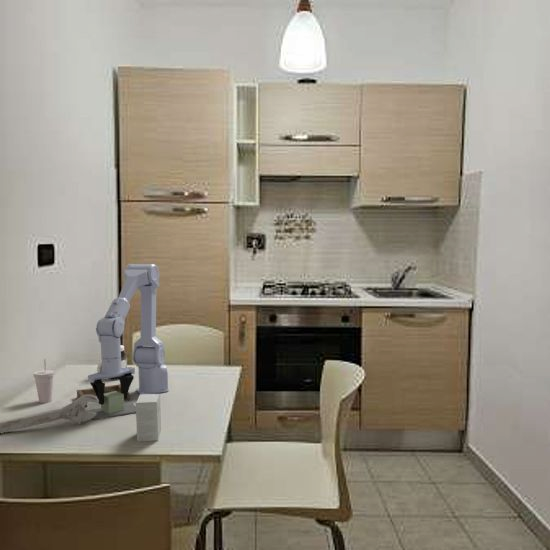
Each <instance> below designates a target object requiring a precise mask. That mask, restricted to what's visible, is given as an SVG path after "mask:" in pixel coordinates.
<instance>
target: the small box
mask: <svg viewBox="0 0 550 550" xmlns="http://www.w3.org/2000/svg"><path fill="white" fill-rule="evenodd" d="M135 406H136V413H135V420H136V441H137V443H138V442H139V443H140V442H157V441H159V437H160V434H161V432H162V419H161V418H162V414H161V413H162V410H161V394H160V393H154V394H140V393H139V396H138V398H137V399H136V402H135Z"/></svg>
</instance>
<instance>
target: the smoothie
mask: <svg viewBox="0 0 550 550" xmlns="http://www.w3.org/2000/svg"><path fill="white" fill-rule="evenodd" d="M43 367H44V369H43V370H37V371H35V372H33V378H34V381H35V384H36V392H37V396H38V397H37V398H38V403H40V404H47V403H48V404H49V403H50V402H52V401H53V400H52V399H53V398H52V397H53V387H54V376H55V370H53V369H47V359H46V358H43Z"/></svg>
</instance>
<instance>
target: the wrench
mask: <svg viewBox="0 0 550 550" xmlns="http://www.w3.org/2000/svg"><path fill="white" fill-rule="evenodd" d="M89 403H94V404H99V400H98V398H97V396H94V395H90V394H86V395H83V396H81V397H80V398H77V399H75V400H74V401H72V402H71V403H69V404H67V405H65V406H63V407H61V408H58V409H54V410H49V411H45V412H40V413H36V414H35V413H34V414H28V415H26V416H25V415H24V416H19V417H16V418H10V419H7V420H6V419H5V420H2V421H0V433H1V434H5V433H8V432H9V433H10V432H12V431H18V430H22V429H25V428H30V427H34V426H39V425H43V424H47V423H52V422H57V421H60V420H66V421H67V420H68V421H72V422H74V425H81V424H82V422H86V421H87V422H88V421H89V420H92V419H91V418H93V417H95V416H96V414H97V413H96V412H91V411H87V410H86V407H85V406H86V404H87V405H88V404H89ZM4 432H5V433H4Z"/></svg>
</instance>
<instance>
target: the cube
mask: <svg viewBox="0 0 550 550" xmlns="http://www.w3.org/2000/svg"><path fill="white" fill-rule="evenodd" d="M124 405H125V400H124V394H122V393H119V392H117V391H114V392H109V393H105V394H104V404H103V405H101V404H100V408H101V411H104V412H106V413H108V414H111V413H115V412H119V411H123V410H124Z"/></svg>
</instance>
